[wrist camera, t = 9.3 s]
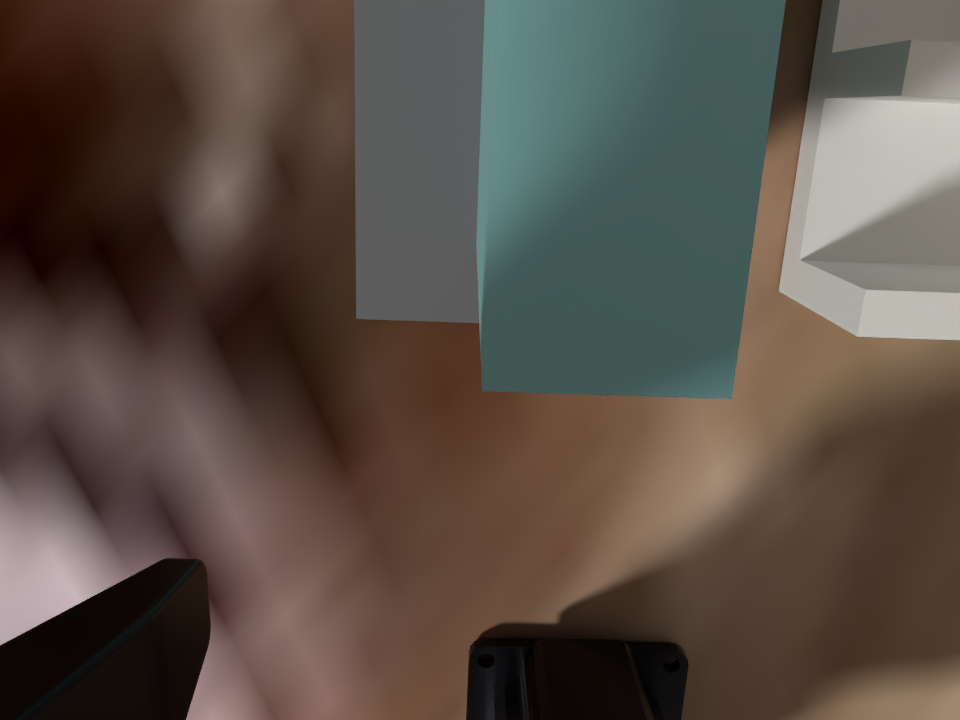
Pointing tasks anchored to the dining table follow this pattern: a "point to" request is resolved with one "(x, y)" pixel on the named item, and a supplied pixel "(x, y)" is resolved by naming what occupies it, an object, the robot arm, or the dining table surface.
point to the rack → (880, 172)
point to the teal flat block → (620, 191)
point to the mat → (417, 158)
